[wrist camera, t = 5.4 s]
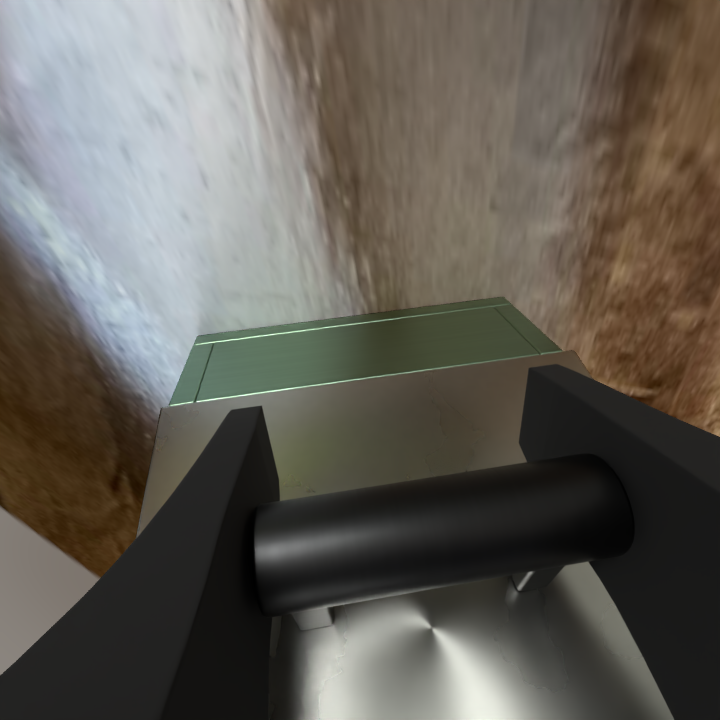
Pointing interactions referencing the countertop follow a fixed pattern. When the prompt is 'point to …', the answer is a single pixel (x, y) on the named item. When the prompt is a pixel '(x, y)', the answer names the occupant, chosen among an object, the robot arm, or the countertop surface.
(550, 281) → the countertop surface
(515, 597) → the bin lid
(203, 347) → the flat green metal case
